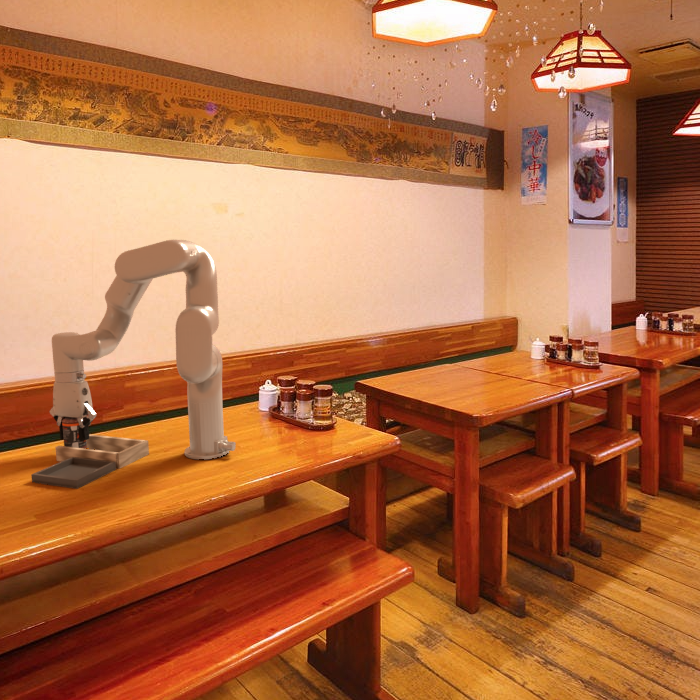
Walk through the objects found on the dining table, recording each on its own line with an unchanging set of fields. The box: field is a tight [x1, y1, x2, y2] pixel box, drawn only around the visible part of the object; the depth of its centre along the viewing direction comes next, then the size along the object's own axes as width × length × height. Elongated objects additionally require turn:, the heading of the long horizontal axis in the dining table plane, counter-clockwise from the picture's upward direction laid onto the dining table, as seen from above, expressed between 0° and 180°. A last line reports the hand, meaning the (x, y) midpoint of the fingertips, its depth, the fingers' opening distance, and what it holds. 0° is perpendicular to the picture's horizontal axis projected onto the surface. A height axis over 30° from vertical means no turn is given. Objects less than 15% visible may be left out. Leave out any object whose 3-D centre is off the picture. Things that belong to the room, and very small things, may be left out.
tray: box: [31, 457, 117, 489], centre depth 158 cm, size 14×14×2 cm
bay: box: [55, 433, 150, 469], centre depth 172 cm, size 21×12×4 cm, turn 71°
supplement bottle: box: [62, 417, 87, 449], centre depth 174 cm, size 6×6×11 cm
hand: (74, 438), depth 175 cm, fingers closed on supplement bottle, 6 cm apart
